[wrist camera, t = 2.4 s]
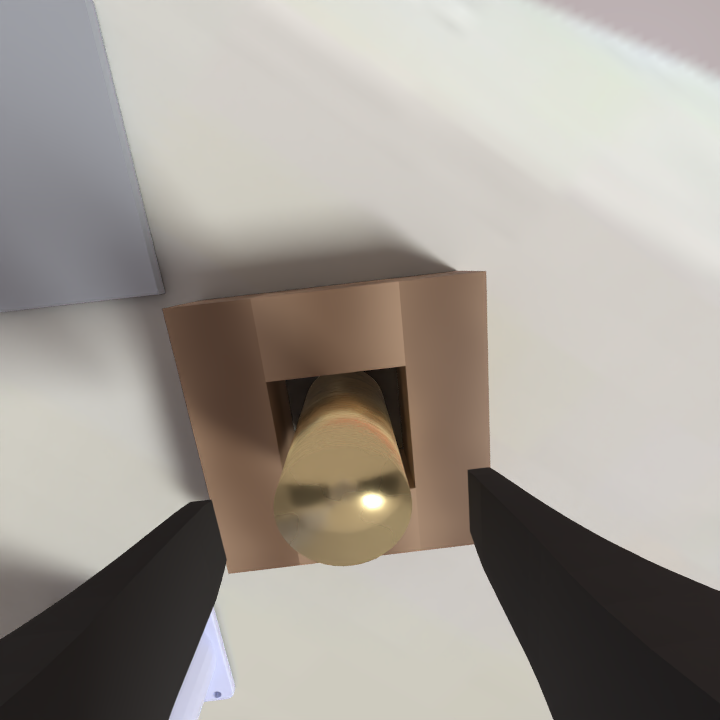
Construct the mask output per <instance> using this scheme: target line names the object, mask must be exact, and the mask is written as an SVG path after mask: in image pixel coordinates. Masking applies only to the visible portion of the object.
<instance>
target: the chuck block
mask: <svg viewBox="0 0 720 720" xmlns="http://www.w3.org/2000/svg"><path fill="white" fill-rule="evenodd" d="M162 310H163V314H164V318H165V322H166V326H167V330H168V334H169V338H170V342H171V346H172V350H173V354H174V358H175V362H176V366H177V370H178V374H179V378H180V382H181V386H182V390H183V394H184V398H185V402H186V406H187V410H188V414H189V418H190V422H191V426H192V430H193V434H194V438H195V442H196V446H197V449H198V453H199V457H200V461H201V465H202V469H203V473H204V477H205V481H206V485H207V489H208V493H209V497H210V500H212V503H213V507H214V511H215V515H216V519H217V522H218V526H219V530H220V534H221V538H222V542H223V546H224V550H225V554H226V558H227V561H226V565H227V569H228V573H229V574H230V573H239V572H247V571H255V570H264V569H272V568H280V567H289V566H297V565H305V564H313V563H319V562H316V561H313V560H311V559H308V558H307V557H305V556H303V555H301V554H300V553H298V552H297V551H296V550H294V549H293V548H292V547H291V546H290V545H289V544H288V543H287V542H286V540H285V539H284V538H283V536H282V535H281V533H280V531H279V529H278V527H277V524H276V521H275V517H274V498H275V493H276V490H277V486H278V483H279V480H280V477H281V474H282V471H283V468H284V464H285V461H286V458H287V455H288V452H289V449H290V446H291V443H292V439H293V436H294V427H293V422H292V416H291V410H290V404H289V398H288V393H287V387H286V381H285V380H289V379H297V378H306V377H315V376H323V375H332V374H340V373H349V372H357V371H366V370H374V369H383V368H392V367H396V373H397V384H398V395H399V406H400V418H401V429H402V440H403V448H402V449H398V450H399V453H400V457H401V460H402V464H403V467H404V471H405V474H406V478H407V481H408V485H409V488H410V492H411V497H412V514H411V518H410V522H409V525H408V527H407V529H406V531H405V533H404V534H403V536H402V537H401V539H400V540H399V541H398V542H397V543H396V544H395V545H394V546H393V547H392V548H391V549H390V550H389V551H387V552H386V553H384V554H383V555H388V554H397V553H405V552H413V551H422V550H430V549H438V548H447V547H455V546H463V545H472V544H474V542H473V539H472V536H471V533H470V523H469V497H468V471H467V470H469V469H477V468H486V467H490V433H489V385H488V338H487V290H486V271H452V272H443V273H434V274H426V275H417V276H408V277H400V278H391V279H382V280H373V281H365V282H356V283H347V284H339V285H330V286H321V287H313V288H304V289H295V290H287V291H278V292H269V293H261V294H252V295H243V296H235V297H226V298H217V299H209V300H200V301H196V302H191V303H186V304H182V305H177V306H172V307H168V308H163V309H162Z"/></svg>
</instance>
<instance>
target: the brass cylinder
mask: <svg viewBox="0 0 720 720" xmlns="http://www.w3.org/2000/svg"><path fill="white" fill-rule="evenodd" d="M411 514H412V497H411V492H410V488H409V485H408V481H407V478H406V474H405V471H404V467H403V464H402V460H401V457H400V453H399V450H398V446H397V443H396V439H395V436H394V432H393V429H392V425H391V422H390V418H389V414H388V411H387V407H386V404H385V400H384V397H383V394H382V391H381V389H380V387H379V385H378V384H377V383H376V381H375V380H374V379H373V378H372V377H370V376H369V375H368V374H366V373H364V372H362V371H357V372H349V373H340V374H332V375H323V376H319V377H318V378H317V379H316V380H315V381H314V382H313V384H312V385H311V386H310V388H309V390H308V393H307V396H306V399H305V402H304V405H303V408H302V411H301V414H300V418H299V421H298V424H297V427H296V430H295V433H294V436H293V439H292V443H291V446H290V449H289V452H288V455H287V458H286V461H285V464H284V468H283V471H282V474H281V477H280V480H279V483H278V486H277V490H276V493H275V498H274V517H275V521H276V524H277V527H278V529H279V531H280V533H281V535H282V536H283V538H284V539H285V540H286V542H287V543H288V544H289V545H290V546H291V547H292V548H293V549H294V550H296V551H297V552H298V553H300V554H301V555H303V556H305V557H307V558H308V559H311V560H313V561H316V562H319V563H322V564H326V565H333V566H351V565H357V564H362V563H365V562H368V561H371V560H373V559H376V558H378V557H379V556H381V555H383V554H384V553H386V552H387V551H389V550H390V549H391V548H392V547H393V546H394V545H395V544H396V543H397V542H398V541H399V540H400V539H401V537H402V536H403V534H404V533H405V531H406V529H407V527H408V525H409V522H410V518H411Z"/></svg>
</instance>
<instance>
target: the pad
mask: <svg viewBox="0 0 720 720" xmlns="http://www.w3.org/2000/svg"><path fill="white" fill-rule="evenodd" d="M164 293H165V290H164V286H163V282H162V278H161V274H160V270H159V266H158V262H157V258H156V254H155V249H154V245H153V241H152V237H151V233H150V229H149V225H148V221H147V217H146V213H145V209H144V205H143V201H142V197H141V193H140V188H139V184H138V180H137V176H136V172H135V168H134V164H133V160H132V156H131V152H130V148H129V144H128V140H127V136H126V132H125V128H124V123H123V119H122V115H121V111H120V107H119V103H118V99H117V95H116V91H115V87H114V83H113V79H112V75H111V71H110V67H109V62H108V58H107V54H106V50H105V46H104V42H103V38H102V34H101V30H100V26H99V22H98V18H97V14H96V10H95V6H94V2H93V1H92V0H0V312H8V311H17V310H26V309H34V308H43V307H52V306H60V305H69V304H78V303H86V302H95V301H104V300H112V299H121V298H130V297H138V296H147V295H156V294H164Z"/></svg>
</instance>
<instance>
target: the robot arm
mask: <svg viewBox="0 0 720 720" xmlns="http://www.w3.org/2000/svg"><path fill="white" fill-rule="evenodd" d="M467 471H468V497H469V523H470V533H471V536H472V539H473V542H474V545H475V547H476V550H477V553H478V556H479V558H480V561H481V564H482V566H483V569H484V571H485V573H486V575H487V577H488V579H489V581H490V583H491V585H492V587H493V589H494V591H495V593H496V595H497V598H498V600H499V602H500V604H501V606H502V608H503V610H504V612H505V614H506V616H507V618H508V620H509V622H510V624H511V626H512V628H513V630H514V632H515V634H516V636H517V638H518V640H519V642H520V644H521V646H522V648H523V650H524V652H525V654H526V656H527V658H528V660H529V662H530V665H531V667H532V669H533V671H534V673H535V676H536V678H537V680H538V682H539V685H540V687H541V690H542V692H543V695H544V697H545V700H546V702H547V705H548V707H549V710H550V712H551V715H552V717H553V719H554V720H720V591H718V590H715V589H713V588H710V587H708V586H705V585H703V584H701V583H698V582H696V581H694V580H691V579H689V578H687V577H684V576H682V575H680V574H677V573H675V572H673V571H670V570H668V569H666V568H664V567H661V566H659V565H657V564H655V563H653V562H650V561H648V560H646V559H644V558H642V557H640V556H638V555H636V554H634V553H632V552H630V551H628V550H626V549H624V548H622V547H620V546H618V545H616V544H614V543H612V542H610V541H608V540H606V539H604V538H602V537H600V536H599V535H597V534H595V533H593V532H591V531H590V530H588V529H586V528H584V527H583V526H581V525H579V524H577V523H576V522H574V521H572V520H570V519H569V518H567V517H565V516H564V515H562V514H561V513H559V512H557V511H556V510H554V509H552V508H551V507H549V506H548V505H546V504H544V503H543V502H541V501H540V500H538V499H537V498H535V497H534V496H532V495H531V494H529V493H528V492H526V491H525V490H523V489H522V488H520V487H519V486H517V485H516V484H514V483H513V482H511V481H510V480H508V479H507V478H505V477H504V476H502V475H501V474H499V473H498V472H496V471H495V470H493V469H491V468H490V467H486V468H477V469H469V470H467ZM226 561H227V558H226V554H225V550H224V546H223V542H222V538H221V534H220V530H219V526H218V522H217V519H216V515H215V511H214V507H213V503H212V500H204V501H196V502H190V503H188V504H187V505H185V506H184V507H182V508H181V509H180V510H178V511H177V512H176V513H174V514H173V515H172V516H170V517H169V518H168V519H167V520H165V521H164V522H163V523H161V524H160V525H159V526H158V527H156V528H155V529H154V530H153V531H151V532H150V533H149V534H148V535H146V536H145V537H144V538H142V539H141V540H140V541H139V542H137V543H136V544H135V545H134V546H132V547H131V548H130V549H129V550H127V551H126V552H125V553H123V554H122V555H121V556H120V557H118V558H117V559H116V560H114V561H113V562H112V563H110V564H109V565H108V566H106V567H105V568H104V569H102V570H101V571H100V572H98V573H97V574H96V575H94V576H93V577H91V578H90V579H89V580H87V581H86V582H85V583H83V584H82V585H81V586H79V587H78V588H77V589H75V590H74V591H73V592H71V593H70V594H68V595H67V596H65V597H64V598H63V599H61V600H60V601H58V602H57V603H55V604H54V605H52V606H51V607H50V608H48V609H47V610H45V611H44V612H42V613H41V614H39V615H38V616H36V617H34V618H33V619H31V620H30V621H28V622H27V623H25V624H24V625H22V626H21V627H19V628H18V629H16V630H15V631H13V632H11V633H10V634H8V635H7V636H5V637H4V638H2V639H0V720H198V718H199V715H200V712H201V709H202V706H203V703H204V702H206V701H214V700H222V699H228V698H230V697H232V696H233V694H234V691H235V684H234V680H233V677H232V673H231V669H230V665H229V662H228V658H227V654H226V651H225V647H224V643H223V640H222V636H221V632H220V629H219V625H218V621H217V618H216V614H215V610H214V604H215V601H216V599H217V595H218V592H219V588H220V585H221V581H222V577H223V573H224V569H225V565H226Z"/></svg>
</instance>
